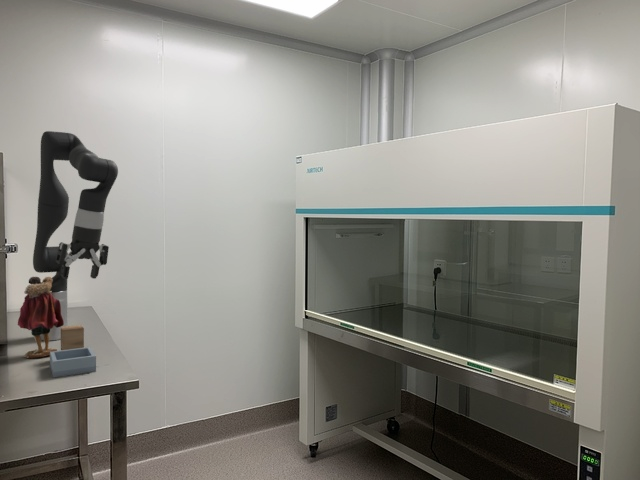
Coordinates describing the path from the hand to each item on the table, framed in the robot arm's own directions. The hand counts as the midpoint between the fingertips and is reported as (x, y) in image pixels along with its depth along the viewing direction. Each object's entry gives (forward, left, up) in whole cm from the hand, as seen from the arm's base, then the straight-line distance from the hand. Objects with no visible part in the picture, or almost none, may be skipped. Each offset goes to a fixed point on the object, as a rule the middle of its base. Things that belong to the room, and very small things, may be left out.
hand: (79, 278), depth 146 cm
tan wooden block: (-9, -1, -27) cm, 28 cm away
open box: (+2, -2, -27) cm, 27 cm away
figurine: (-19, -9, -27) cm, 34 cm away
